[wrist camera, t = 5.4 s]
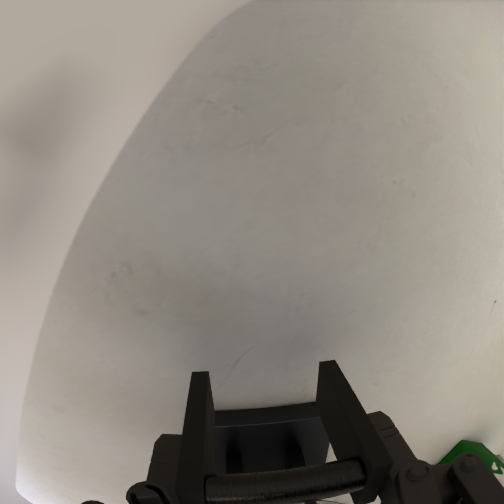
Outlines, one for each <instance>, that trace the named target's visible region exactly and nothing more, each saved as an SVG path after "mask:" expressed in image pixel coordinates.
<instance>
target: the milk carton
mask: <svg viewBox="0 0 504 504" xmlns="http://www.w3.org/2000/svg"><path fill="white" fill-rule="evenodd" d="M465 452H472V453H474V454H477V455H478V456H479V457H481V459H482V460H483V461H484V462H485V464H486V465H487V466H488V467H489V469H490V470H491V471H492V473H493V474H494V475H495V476H496V478H497V479H498V480H499V482H500V483H501V484H502V486H503V487H504V464H503V462H502V461H501V460H500V459H499V458H497V457H496V456H495V455H494V454H493V453H492V452H491V451H490V450H489V449H487V448H486V447H485V446H484V445H483V444H481V443H474V442H468V441H461V442H460V443H459V444H458V445H457V446H456V447H455V448H454V449H453V450H452V451H451V452H450V453H449V454H448V455H447V456H446V457H445V458H444V459H443V460H442V461H441V462H440V463H439V464H438V465H440V464H447V463H453V461H454V460H455V458H456V457H457V456H458V455H460V454H462V453H465Z"/></svg>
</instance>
